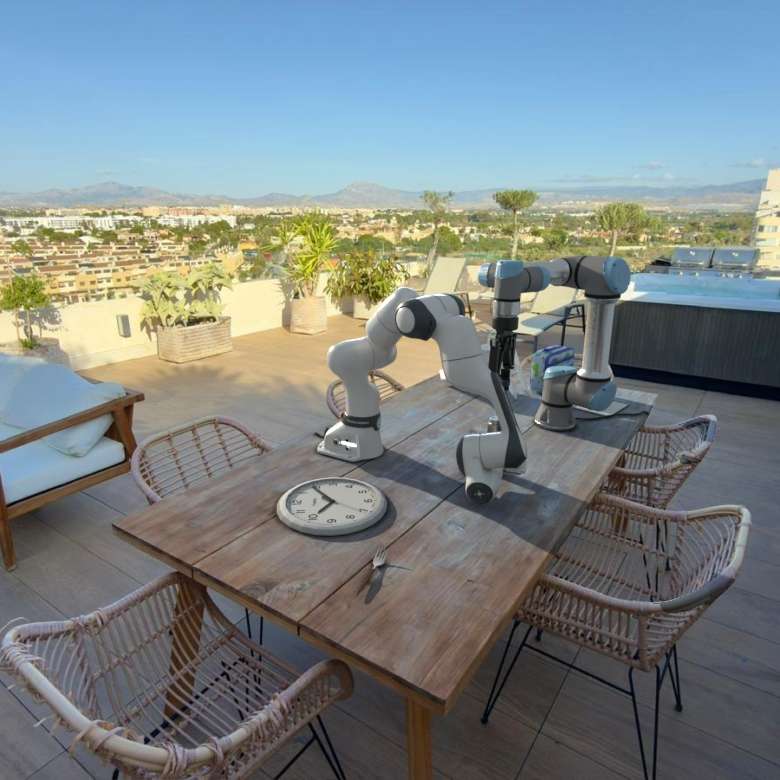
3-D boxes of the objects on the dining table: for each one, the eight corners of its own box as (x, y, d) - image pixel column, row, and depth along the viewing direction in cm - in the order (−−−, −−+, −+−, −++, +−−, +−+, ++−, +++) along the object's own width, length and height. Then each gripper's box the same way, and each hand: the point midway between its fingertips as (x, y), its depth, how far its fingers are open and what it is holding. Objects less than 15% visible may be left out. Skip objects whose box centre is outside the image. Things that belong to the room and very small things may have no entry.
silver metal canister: (503, 473, 163) (508, 420, 158) (488, 475, 162) (493, 421, 156) (496, 466, 168) (500, 414, 162) (481, 468, 166) (485, 415, 161)
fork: (350, 595, 108) (350, 587, 107) (378, 552, 122) (379, 545, 122) (362, 598, 107) (362, 590, 106) (389, 555, 121) (389, 547, 121)
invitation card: (608, 416, 214) (573, 407, 224) (608, 416, 214) (573, 408, 224) (628, 404, 229) (594, 396, 238) (628, 405, 229) (594, 397, 238)
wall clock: (392, 527, 129) (268, 531, 127) (391, 533, 130) (269, 537, 127) (383, 473, 158) (282, 475, 155) (383, 478, 158) (282, 480, 156)
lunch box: (546, 398, 236) (551, 353, 229) (525, 393, 243) (529, 349, 237) (573, 387, 253) (579, 344, 247) (553, 382, 260) (558, 341, 254)
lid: (491, 380, 160) (491, 375, 159) (510, 382, 158) (511, 377, 158) (489, 386, 154) (489, 380, 154) (509, 387, 153) (509, 382, 152)
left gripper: (526, 464, 147) (529, 445, 159) (454, 453, 153) (463, 436, 165) (523, 484, 149) (527, 464, 161) (453, 473, 155) (462, 454, 167)
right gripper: (507, 310, 159) (501, 383, 166) (478, 318, 145) (473, 397, 152) (530, 312, 155) (523, 387, 162) (503, 321, 141) (497, 402, 148)
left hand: (494, 450), depth 163 cm, fingers closed on silver metal canister, 5 cm apart
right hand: (499, 392), depth 157 cm, fingers closed on lid, 6 cm apart
